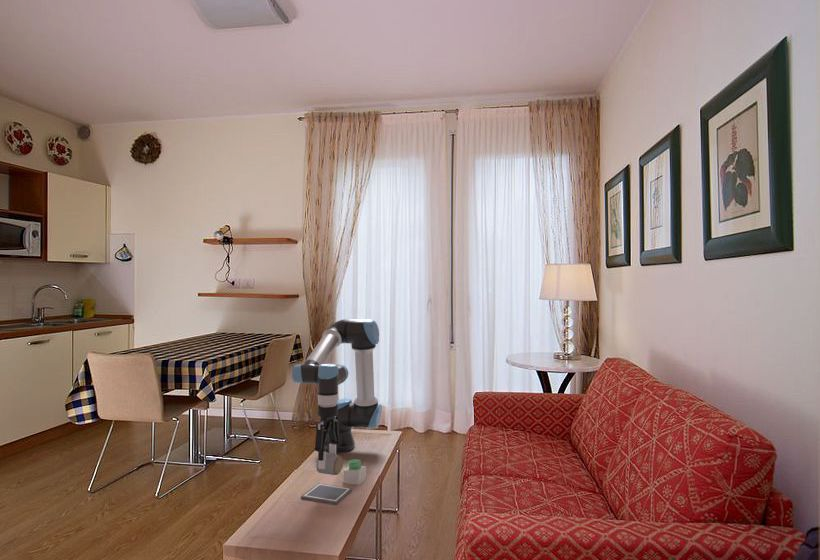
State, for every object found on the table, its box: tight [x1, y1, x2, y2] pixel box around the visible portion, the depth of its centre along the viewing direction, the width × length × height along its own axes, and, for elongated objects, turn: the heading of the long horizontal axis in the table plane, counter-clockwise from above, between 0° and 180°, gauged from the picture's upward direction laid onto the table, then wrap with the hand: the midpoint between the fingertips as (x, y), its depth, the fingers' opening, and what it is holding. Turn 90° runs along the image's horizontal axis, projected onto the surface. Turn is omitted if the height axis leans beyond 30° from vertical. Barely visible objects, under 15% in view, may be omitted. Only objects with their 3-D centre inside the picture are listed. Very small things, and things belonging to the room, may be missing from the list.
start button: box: [348, 458, 362, 468], centre depth 200 cm, size 5×5×2 cm
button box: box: [342, 465, 367, 486], centre depth 200 cm, size 7×7×5 cm
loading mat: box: [300, 482, 353, 505], centre depth 186 cm, size 13×15×1 cm
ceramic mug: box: [315, 451, 344, 476], centre depth 187 cm, size 11×8×8 cm
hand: (327, 464), depth 186 cm, fingers closed on ceramic mug, 8 cm apart
